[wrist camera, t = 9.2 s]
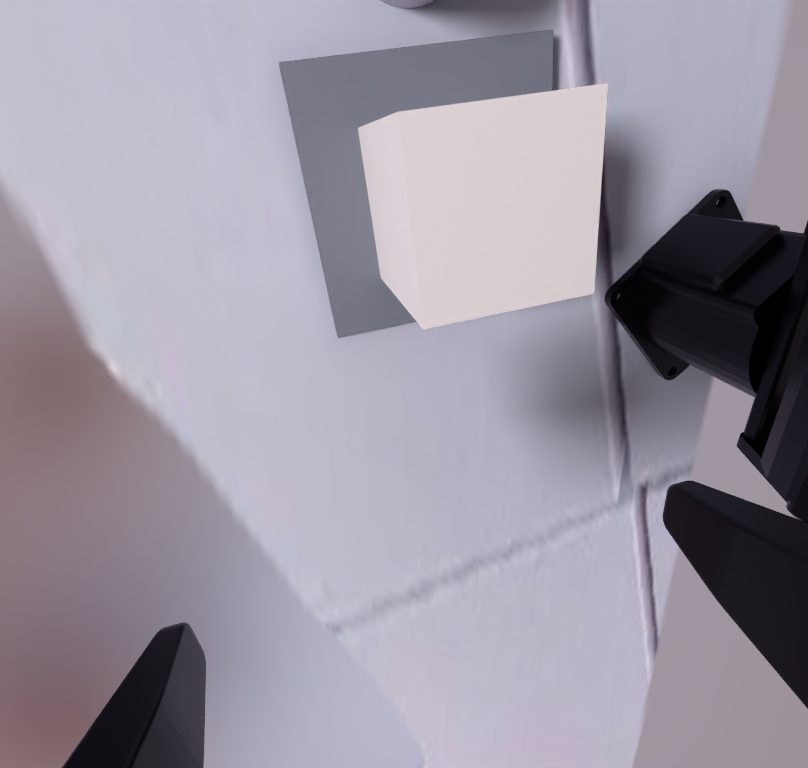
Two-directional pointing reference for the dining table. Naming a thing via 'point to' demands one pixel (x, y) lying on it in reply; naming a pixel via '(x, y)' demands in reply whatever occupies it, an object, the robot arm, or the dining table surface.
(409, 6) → the white ball
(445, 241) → the cream block
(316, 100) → the slate mat
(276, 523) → the dining table surface
